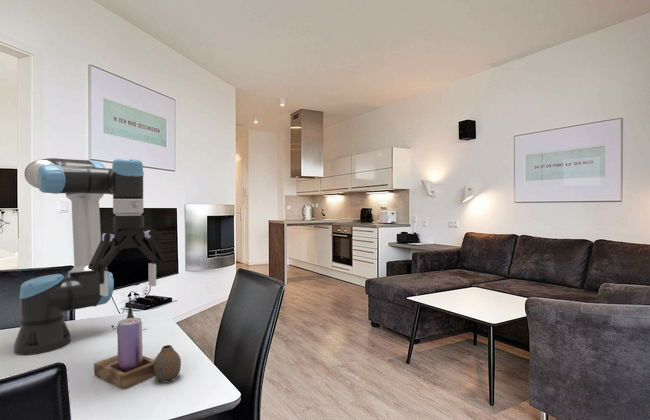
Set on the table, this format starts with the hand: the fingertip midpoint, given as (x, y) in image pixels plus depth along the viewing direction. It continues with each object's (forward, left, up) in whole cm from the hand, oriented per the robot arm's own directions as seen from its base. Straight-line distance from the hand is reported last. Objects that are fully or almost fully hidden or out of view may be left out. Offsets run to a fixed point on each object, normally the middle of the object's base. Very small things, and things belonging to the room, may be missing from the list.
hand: (129, 290), depth 102 cm
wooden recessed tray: (0, -1, -23) cm, 23 cm away
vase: (+12, +3, -24) cm, 27 cm away
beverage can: (+2, -1, -23) cm, 23 cm away
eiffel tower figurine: (-39, +21, -24) cm, 51 cm away
